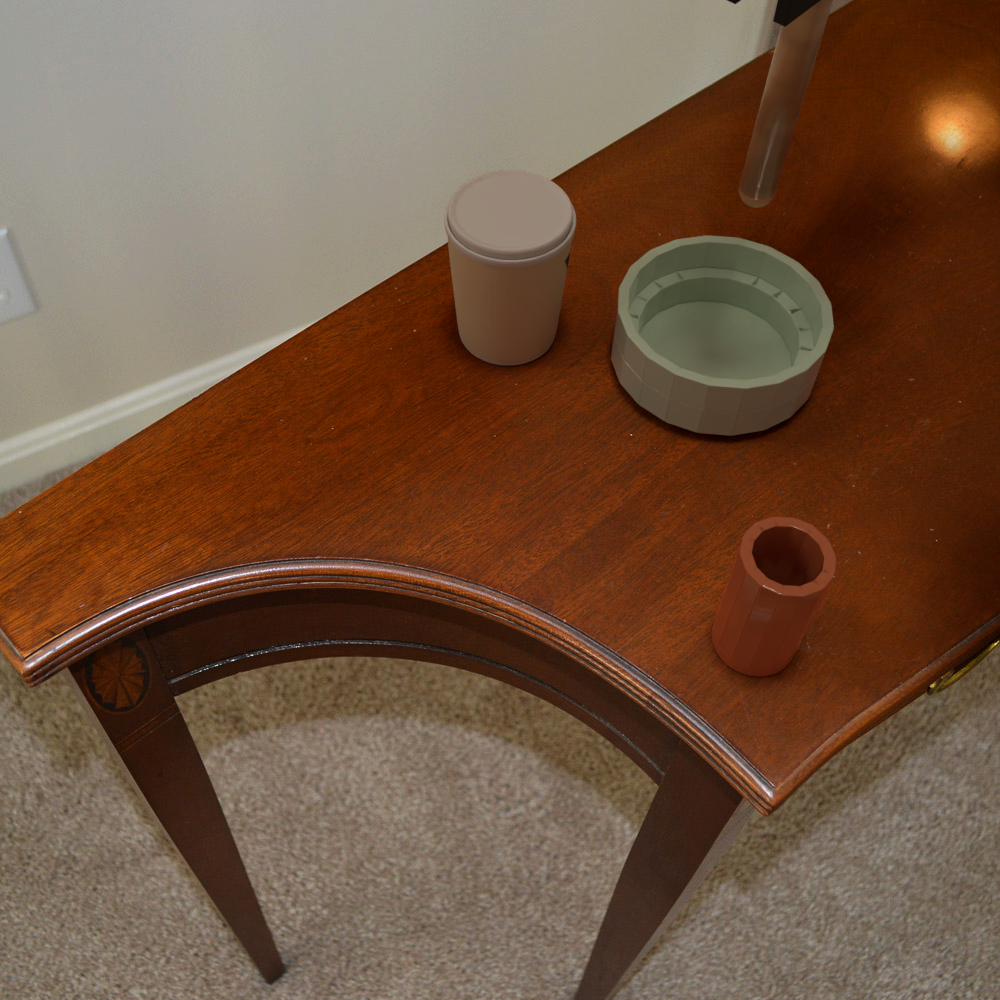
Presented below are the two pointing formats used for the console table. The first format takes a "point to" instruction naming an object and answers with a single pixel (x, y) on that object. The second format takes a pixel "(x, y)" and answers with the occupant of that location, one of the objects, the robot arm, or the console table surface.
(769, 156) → the stick
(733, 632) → the crock
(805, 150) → the console table surface
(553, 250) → the coffee cup
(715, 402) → the bowl
